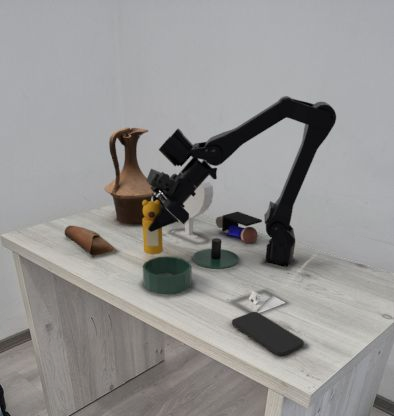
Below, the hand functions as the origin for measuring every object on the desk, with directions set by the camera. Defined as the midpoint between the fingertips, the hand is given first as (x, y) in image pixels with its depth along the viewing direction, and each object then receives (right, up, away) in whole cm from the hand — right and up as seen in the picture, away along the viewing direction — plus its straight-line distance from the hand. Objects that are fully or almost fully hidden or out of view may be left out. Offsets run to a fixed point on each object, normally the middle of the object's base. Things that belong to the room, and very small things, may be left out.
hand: (147, 227), depth 118 cm
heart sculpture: (+10, +3, +22) cm, 25 cm away
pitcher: (-8, +11, +33) cm, 36 cm away
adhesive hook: (+27, -21, -12) cm, 37 cm away
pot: (+6, -16, -6) cm, 18 cm away
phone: (+27, -29, -24) cm, 46 cm away
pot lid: (+18, -7, +6) cm, 20 cm away
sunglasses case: (-18, -1, +15) cm, 23 cm away
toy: (+1, -5, +4) cm, 7 cm away
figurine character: (+25, +2, +22) cm, 33 cm away
